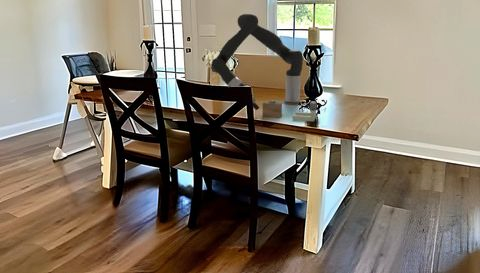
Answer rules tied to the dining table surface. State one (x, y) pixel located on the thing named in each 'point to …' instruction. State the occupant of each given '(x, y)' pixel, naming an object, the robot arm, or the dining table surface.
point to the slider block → (272, 109)
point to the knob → (313, 105)
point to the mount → (305, 116)
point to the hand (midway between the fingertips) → (258, 109)
